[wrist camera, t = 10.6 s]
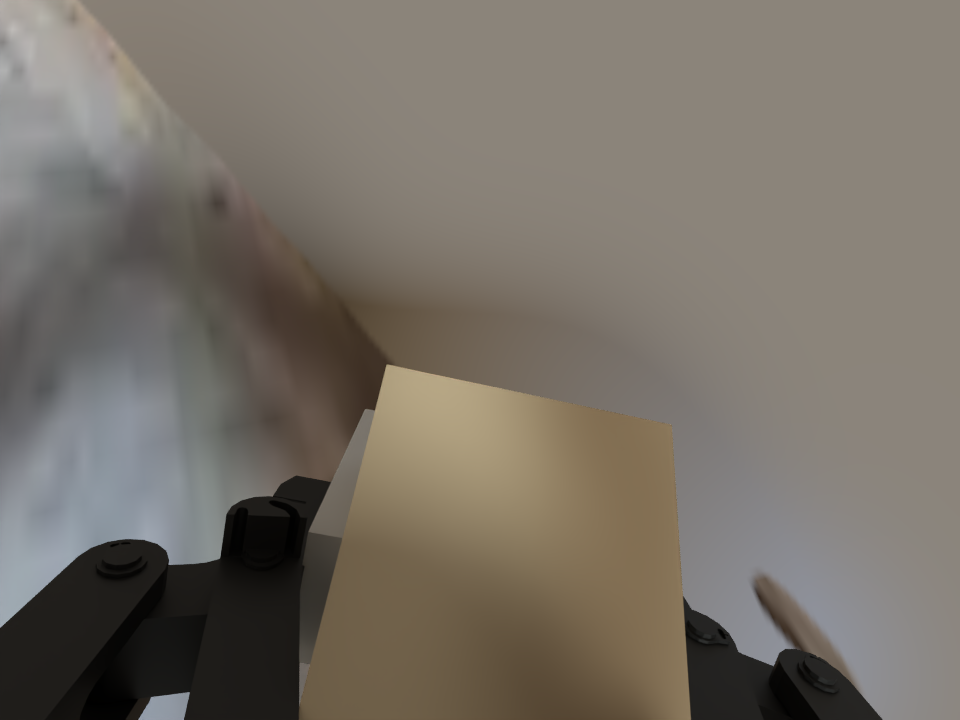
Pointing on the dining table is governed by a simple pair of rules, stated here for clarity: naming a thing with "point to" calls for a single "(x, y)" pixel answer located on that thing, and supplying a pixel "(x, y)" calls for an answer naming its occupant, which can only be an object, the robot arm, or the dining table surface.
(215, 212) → the dining table surface
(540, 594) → the oak block
